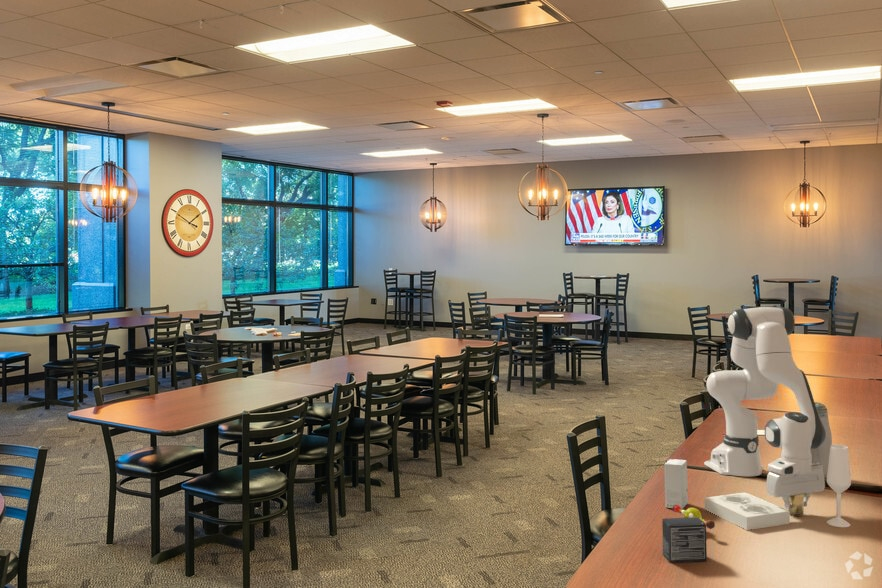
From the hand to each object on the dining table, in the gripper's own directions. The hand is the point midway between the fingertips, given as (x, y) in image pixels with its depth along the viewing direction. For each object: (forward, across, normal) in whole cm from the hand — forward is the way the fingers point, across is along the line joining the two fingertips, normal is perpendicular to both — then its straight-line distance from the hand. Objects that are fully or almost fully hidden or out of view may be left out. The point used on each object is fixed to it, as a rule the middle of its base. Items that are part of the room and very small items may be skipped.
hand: (795, 507), depth 245 cm
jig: (+2, +16, -4) cm, 17 cm away
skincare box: (+3, +30, -21) cm, 37 cm away
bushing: (+2, 0, 0) cm, 2 cm away
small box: (+3, +54, +17) cm, 57 cm away
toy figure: (+2, +39, 0) cm, 39 cm away
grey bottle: (+3, -36, -29) cm, 46 cm away
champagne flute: (+2, -6, +11) cm, 13 cm away
